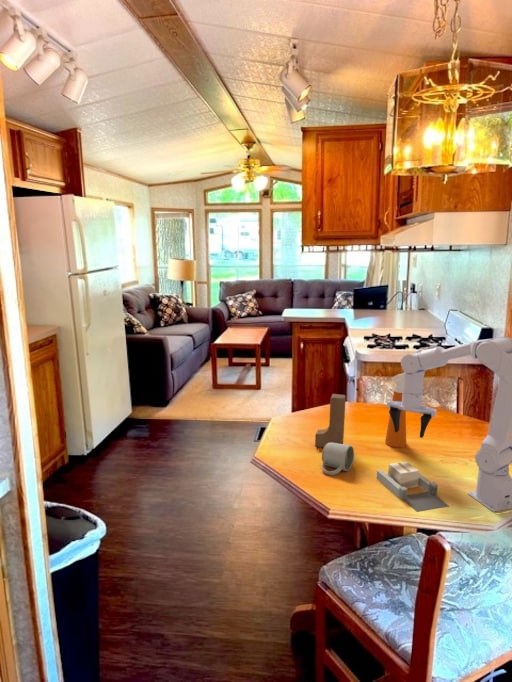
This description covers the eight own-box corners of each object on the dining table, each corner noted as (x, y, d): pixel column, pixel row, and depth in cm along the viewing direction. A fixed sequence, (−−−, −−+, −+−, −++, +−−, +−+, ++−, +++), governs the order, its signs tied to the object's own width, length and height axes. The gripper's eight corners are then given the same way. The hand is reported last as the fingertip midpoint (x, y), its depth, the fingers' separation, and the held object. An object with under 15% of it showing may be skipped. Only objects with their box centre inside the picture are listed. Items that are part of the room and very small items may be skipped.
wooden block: (314, 446, 163) (316, 395, 159) (317, 441, 167) (319, 392, 163) (341, 450, 160) (344, 398, 156) (343, 444, 164) (345, 394, 161)
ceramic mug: (329, 459, 153) (330, 436, 152) (354, 465, 149) (355, 442, 147) (315, 472, 145) (316, 448, 143) (340, 479, 140) (341, 455, 139)
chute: (436, 495, 132) (437, 484, 131) (401, 500, 129) (402, 489, 128) (408, 473, 144) (409, 463, 143) (376, 478, 141) (377, 468, 140)
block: (417, 486, 136) (419, 470, 135) (399, 489, 134) (400, 472, 133) (405, 477, 141) (406, 461, 140) (387, 479, 140) (388, 463, 139)
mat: (449, 506, 126) (449, 506, 126) (416, 512, 123) (416, 511, 123) (430, 491, 134) (430, 491, 134) (399, 496, 131) (399, 496, 131)
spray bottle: (410, 453, 158) (416, 376, 153) (381, 443, 166) (386, 369, 160) (420, 446, 163) (426, 372, 158) (391, 437, 171) (396, 366, 165)
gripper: (440, 392, 145) (436, 434, 148) (393, 384, 153) (390, 424, 156) (434, 398, 139) (430, 442, 142) (385, 390, 147) (383, 431, 150)
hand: (409, 433), depth 148 cm, fingers open, 7 cm apart
